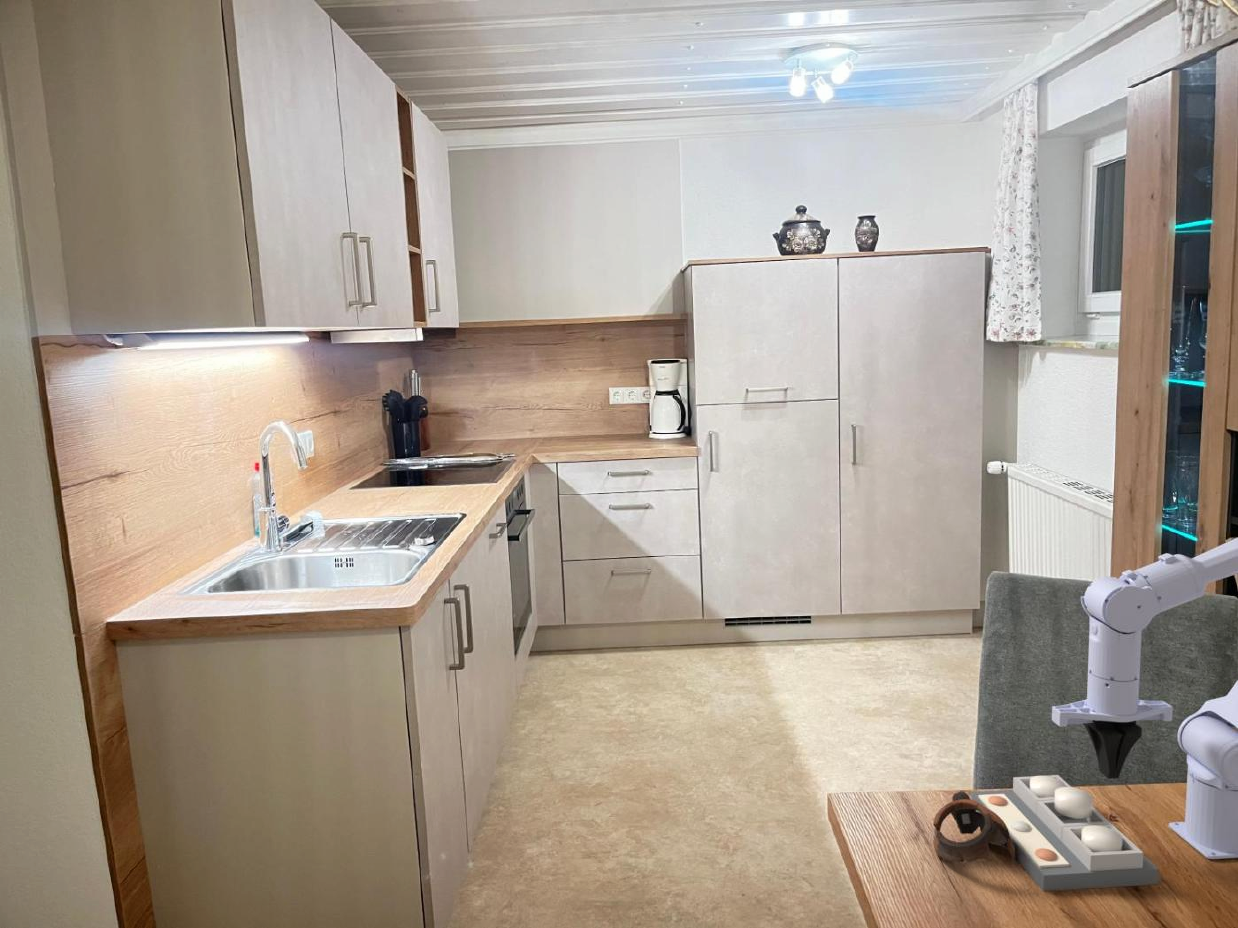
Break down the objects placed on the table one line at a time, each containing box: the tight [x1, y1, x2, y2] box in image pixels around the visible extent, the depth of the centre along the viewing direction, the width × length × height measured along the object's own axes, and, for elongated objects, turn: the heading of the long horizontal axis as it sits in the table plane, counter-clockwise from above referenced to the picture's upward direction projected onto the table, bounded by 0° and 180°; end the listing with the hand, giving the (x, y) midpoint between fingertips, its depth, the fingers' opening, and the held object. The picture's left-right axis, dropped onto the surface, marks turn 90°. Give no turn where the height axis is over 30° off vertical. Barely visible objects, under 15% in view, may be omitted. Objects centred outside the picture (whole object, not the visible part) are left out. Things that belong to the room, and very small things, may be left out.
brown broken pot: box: [932, 790, 1017, 864], centre depth 115 cm, size 12×10×8 cm
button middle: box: [1054, 786, 1094, 819], centre depth 116 cm, size 4×4×2 cm
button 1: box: [1030, 775, 1065, 798], centre depth 123 cm, size 4×4×2 cm
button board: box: [970, 774, 1160, 892], centre depth 116 cm, size 14×20×4 cm
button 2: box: [1081, 825, 1122, 852], centre depth 110 cm, size 4×4×2 cm
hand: (1109, 774), depth 115 cm, fingers closed
